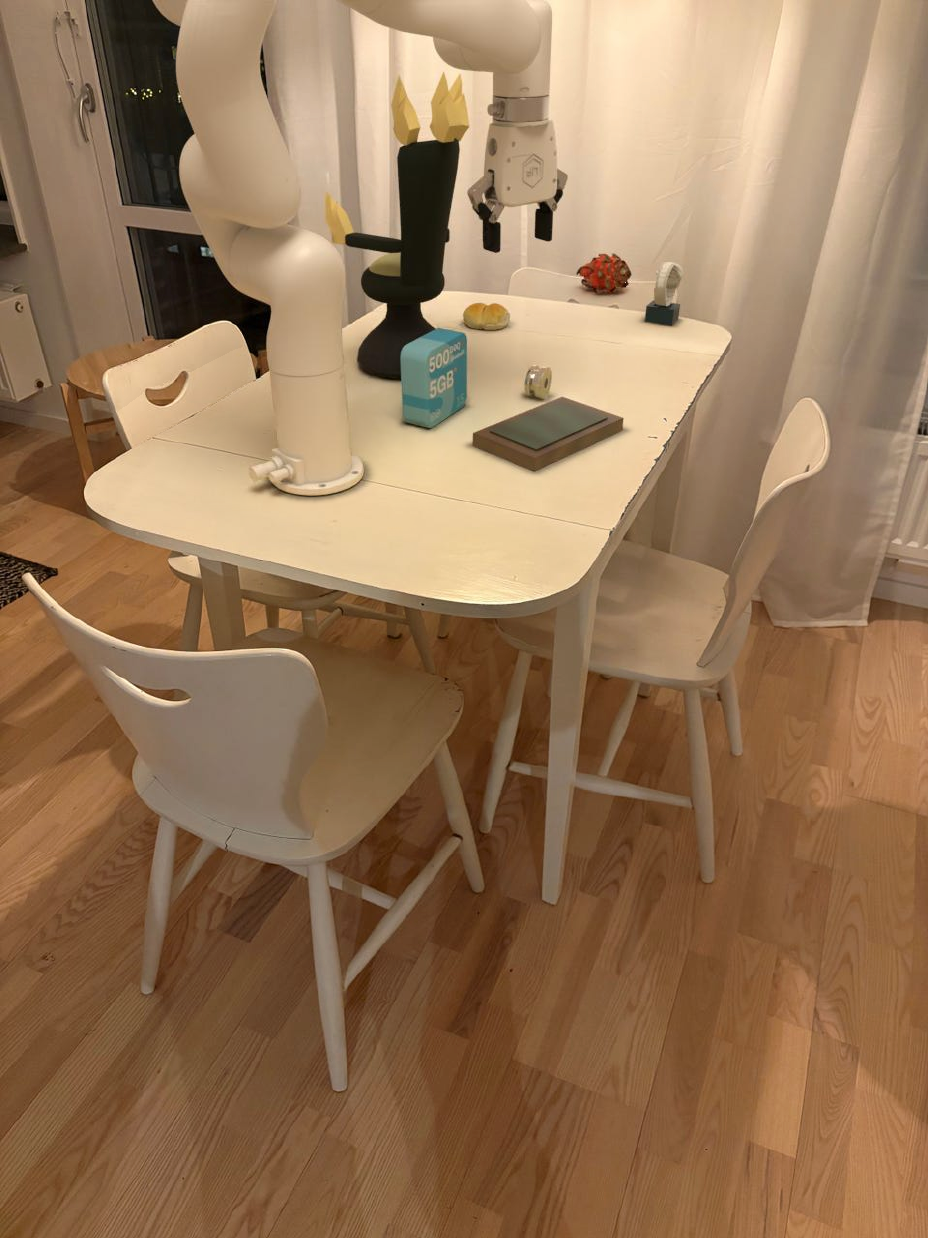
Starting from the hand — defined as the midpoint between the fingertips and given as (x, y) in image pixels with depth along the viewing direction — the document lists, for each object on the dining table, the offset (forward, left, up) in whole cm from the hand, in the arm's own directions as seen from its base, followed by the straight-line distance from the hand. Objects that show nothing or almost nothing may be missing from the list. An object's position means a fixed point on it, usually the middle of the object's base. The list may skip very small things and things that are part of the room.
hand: (517, 244), depth 132 cm
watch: (+53, +9, -24) cm, 59 cm away
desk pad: (-6, -13, -24) cm, 28 cm away
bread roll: (+27, +31, -24) cm, 48 cm away
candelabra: (0, +23, -24) cm, 34 cm away
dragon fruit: (+61, +30, -24) cm, 72 cm away
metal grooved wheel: (+5, -1, -24) cm, 25 cm away
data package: (-12, +5, -24) cm, 28 cm away
